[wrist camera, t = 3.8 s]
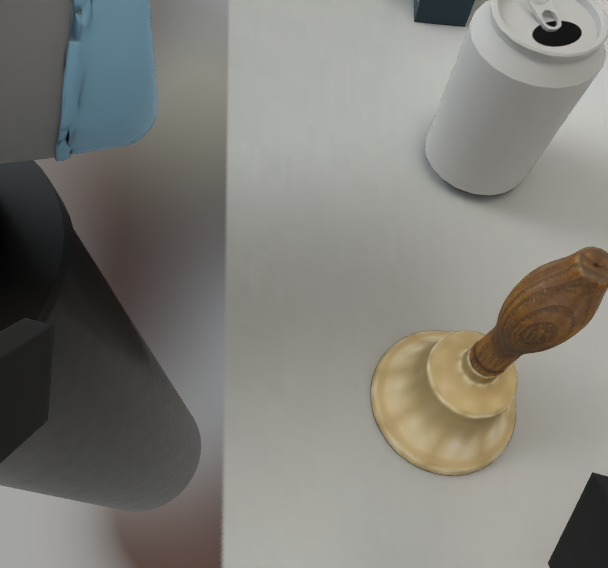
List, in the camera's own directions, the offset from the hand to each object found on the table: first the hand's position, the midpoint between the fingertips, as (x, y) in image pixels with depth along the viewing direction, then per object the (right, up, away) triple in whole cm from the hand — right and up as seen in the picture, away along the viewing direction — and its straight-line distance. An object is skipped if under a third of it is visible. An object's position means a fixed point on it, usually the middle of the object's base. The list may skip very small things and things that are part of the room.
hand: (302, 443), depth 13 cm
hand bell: (+8, -3, +18) cm, 20 cm away
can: (+12, +13, +26) cm, 31 cm away
